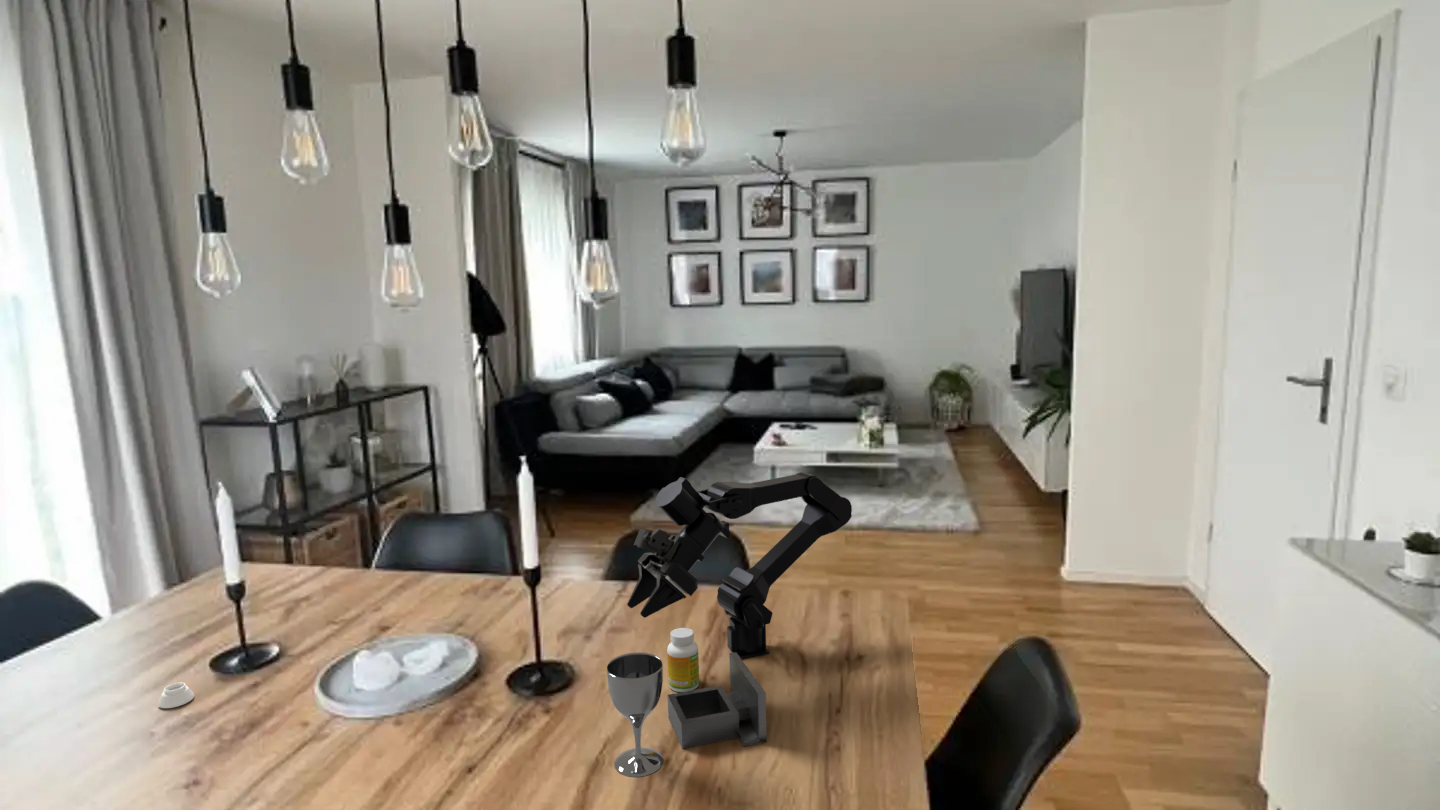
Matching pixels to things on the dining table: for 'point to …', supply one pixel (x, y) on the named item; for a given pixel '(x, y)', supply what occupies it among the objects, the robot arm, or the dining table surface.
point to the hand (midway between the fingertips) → (635, 611)
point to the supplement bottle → (683, 661)
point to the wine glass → (636, 706)
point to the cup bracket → (721, 711)
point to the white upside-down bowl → (175, 695)
